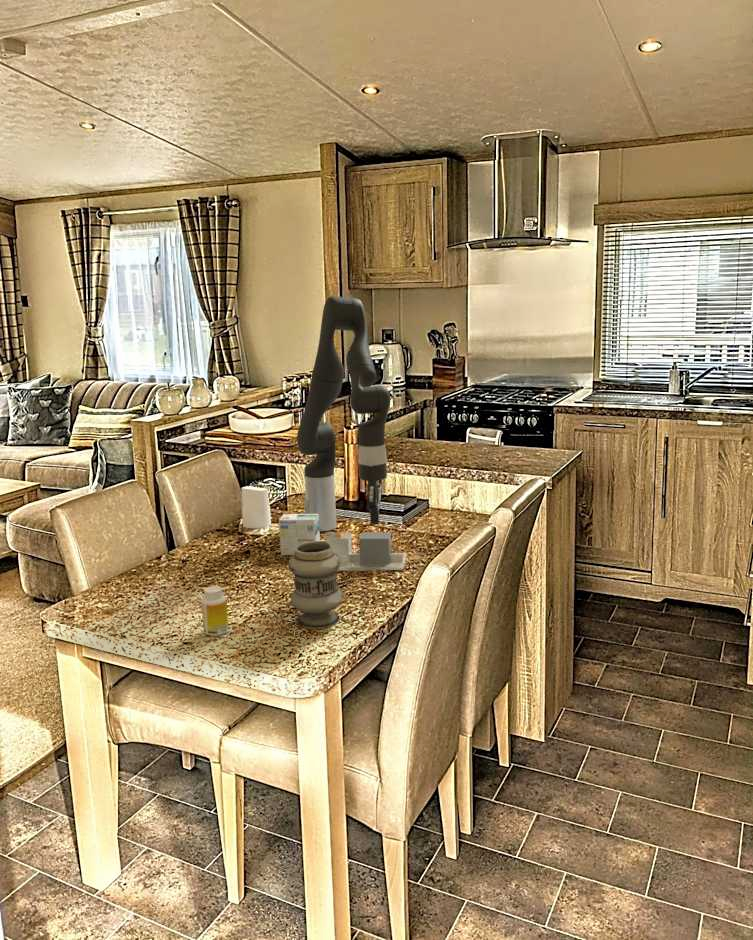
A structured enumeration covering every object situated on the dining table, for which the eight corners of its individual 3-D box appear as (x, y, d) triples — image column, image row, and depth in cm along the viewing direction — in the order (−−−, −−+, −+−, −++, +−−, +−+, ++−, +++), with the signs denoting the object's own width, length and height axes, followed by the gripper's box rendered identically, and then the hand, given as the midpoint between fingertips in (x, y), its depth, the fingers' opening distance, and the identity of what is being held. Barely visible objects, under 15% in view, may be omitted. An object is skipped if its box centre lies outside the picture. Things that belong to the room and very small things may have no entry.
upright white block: (276, 522, 277) (274, 486, 274) (258, 529, 269) (256, 493, 267) (255, 519, 282) (252, 484, 279) (237, 526, 274) (234, 490, 271)
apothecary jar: (281, 621, 196) (276, 547, 192) (320, 606, 204) (317, 534, 200) (315, 636, 188) (311, 558, 184) (355, 619, 196) (351, 545, 192)
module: (360, 563, 231) (359, 538, 230) (362, 556, 237) (362, 532, 235) (389, 563, 230) (388, 538, 229) (391, 556, 236) (390, 532, 235)
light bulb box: (321, 548, 249) (319, 512, 246) (317, 555, 242) (315, 519, 240) (285, 548, 250) (282, 513, 248) (280, 555, 243) (278, 519, 241)
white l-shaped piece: (322, 570, 230) (320, 540, 228) (329, 556, 241) (327, 527, 239) (403, 571, 227) (402, 540, 225) (406, 556, 239) (405, 527, 237)
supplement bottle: (233, 631, 192) (230, 588, 190) (213, 639, 188) (210, 595, 186) (218, 624, 196) (215, 582, 193) (198, 632, 192) (195, 589, 189)
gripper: (361, 456, 234) (364, 516, 238) (355, 466, 221) (358, 530, 225) (388, 455, 233) (390, 516, 237) (384, 466, 221) (386, 530, 224)
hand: (374, 523), depth 231 cm, fingers closed
